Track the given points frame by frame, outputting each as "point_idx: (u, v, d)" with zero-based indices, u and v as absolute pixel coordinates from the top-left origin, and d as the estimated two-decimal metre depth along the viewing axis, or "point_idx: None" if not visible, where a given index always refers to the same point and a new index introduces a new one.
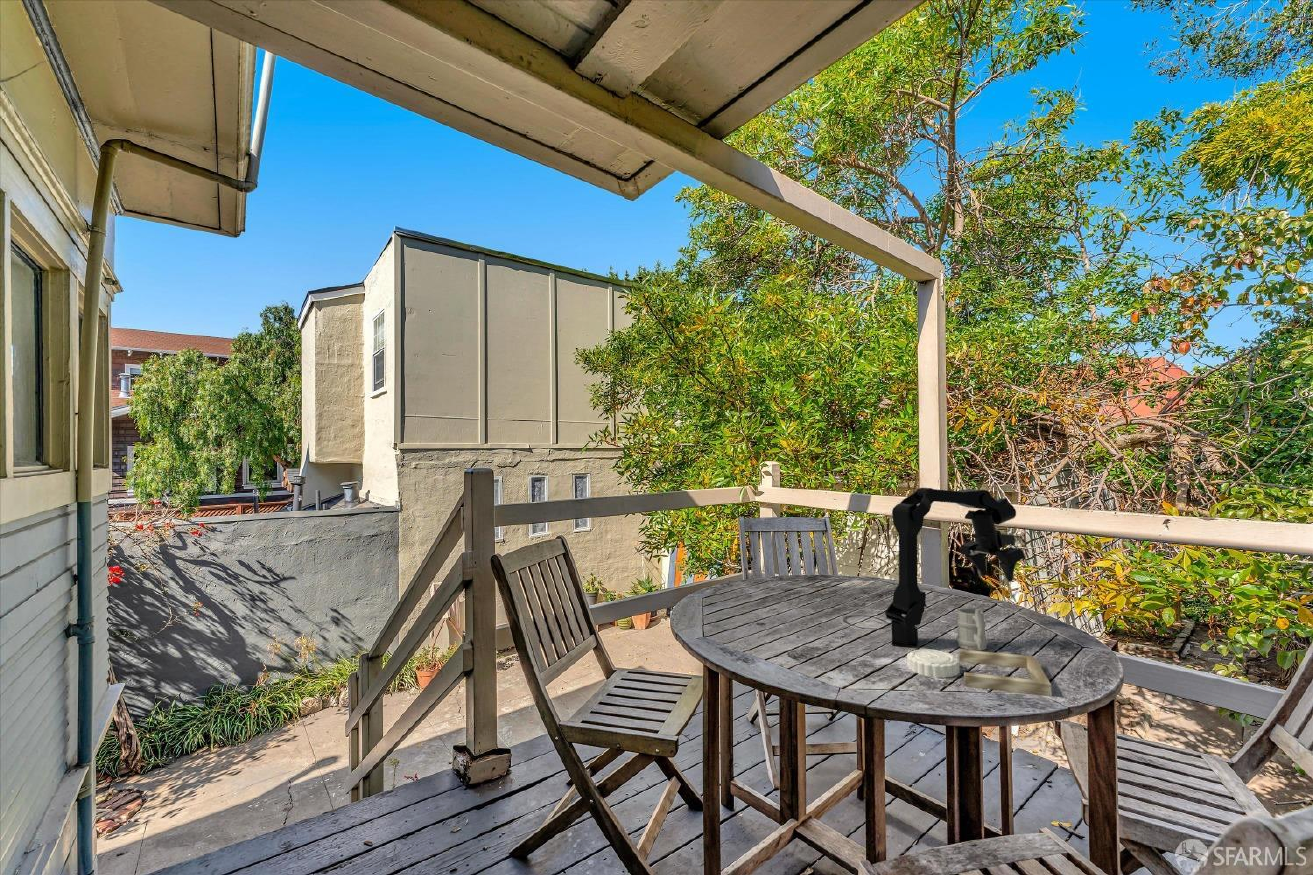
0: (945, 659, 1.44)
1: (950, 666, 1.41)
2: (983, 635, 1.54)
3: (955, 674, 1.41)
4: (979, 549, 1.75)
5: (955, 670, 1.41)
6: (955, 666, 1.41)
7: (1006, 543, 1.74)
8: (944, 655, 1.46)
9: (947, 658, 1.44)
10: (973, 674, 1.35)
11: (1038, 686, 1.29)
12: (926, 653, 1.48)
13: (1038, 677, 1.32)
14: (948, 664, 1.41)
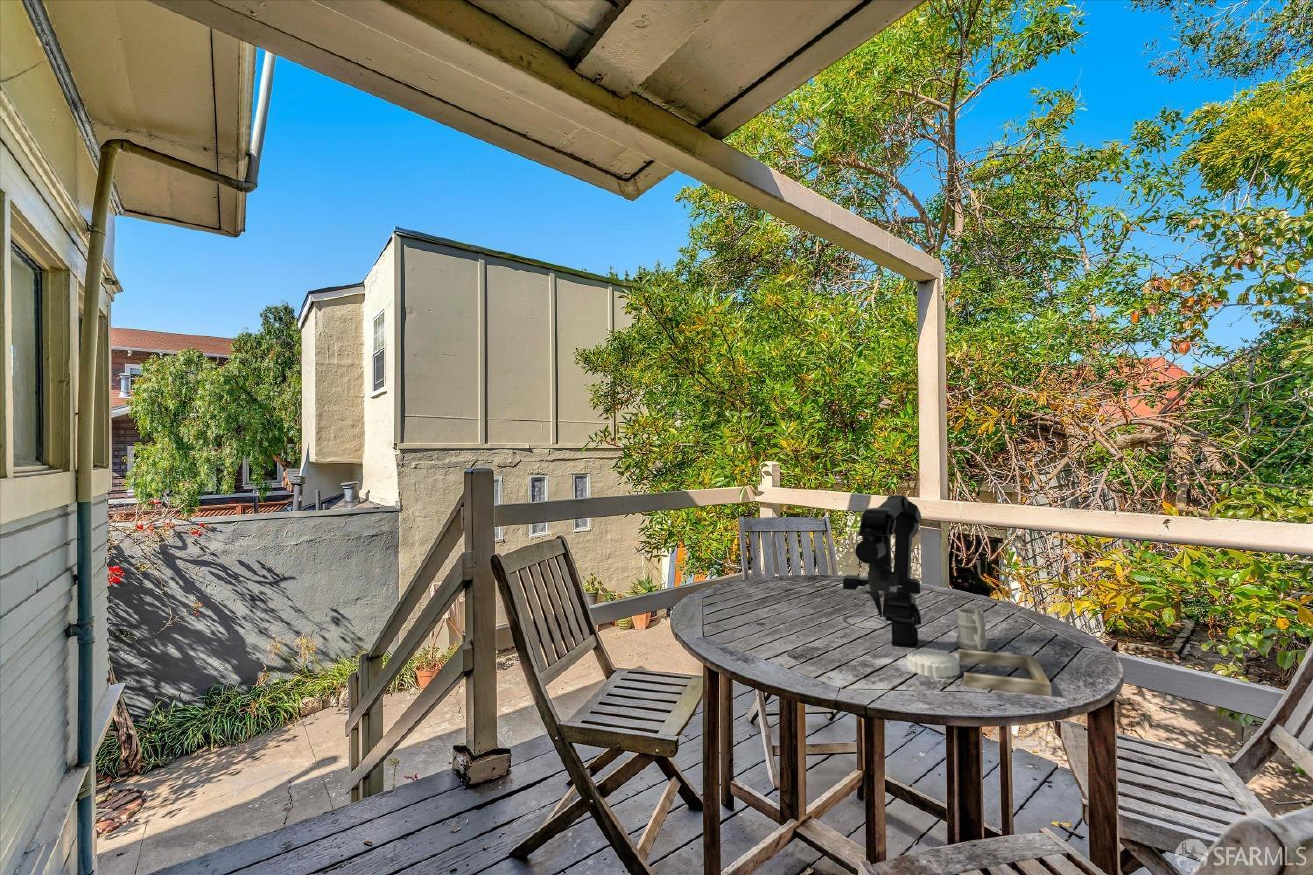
0: (945, 659, 1.44)
1: (950, 666, 1.41)
2: (983, 635, 1.54)
3: (955, 674, 1.41)
4: None
5: (955, 670, 1.41)
6: (955, 666, 1.41)
7: None
8: (944, 655, 1.46)
9: (947, 658, 1.44)
10: (973, 674, 1.35)
11: (1038, 686, 1.29)
12: (926, 653, 1.48)
13: (1038, 677, 1.32)
14: (948, 664, 1.41)
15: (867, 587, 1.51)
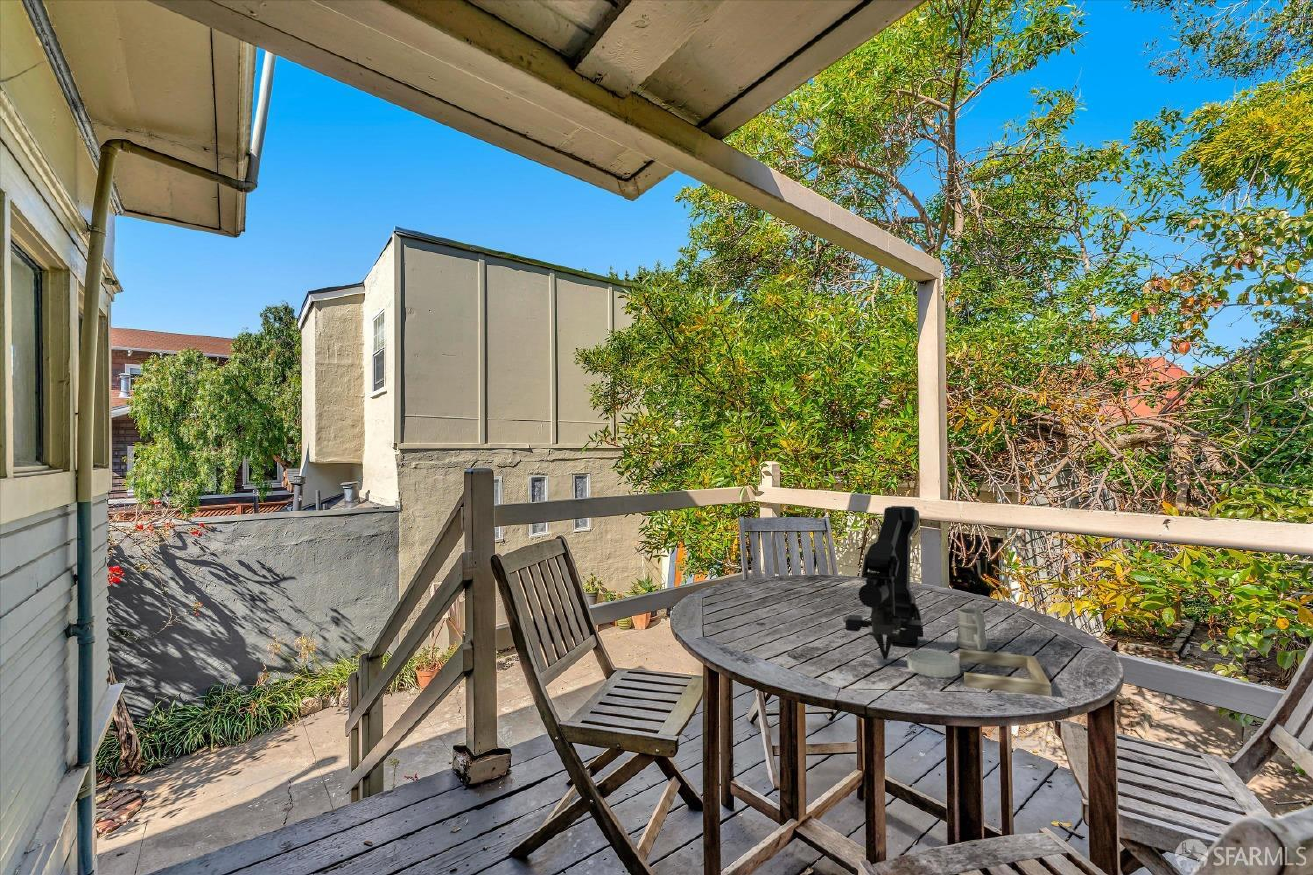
0: (945, 659, 1.44)
1: (950, 666, 1.41)
2: (983, 635, 1.54)
3: (955, 674, 1.41)
4: None
5: (955, 670, 1.41)
6: (955, 666, 1.41)
7: None
8: (944, 655, 1.46)
9: (947, 658, 1.44)
10: (973, 674, 1.35)
11: (1038, 686, 1.29)
12: (926, 653, 1.48)
13: (1038, 677, 1.32)
14: (948, 664, 1.41)
15: (870, 629, 1.51)
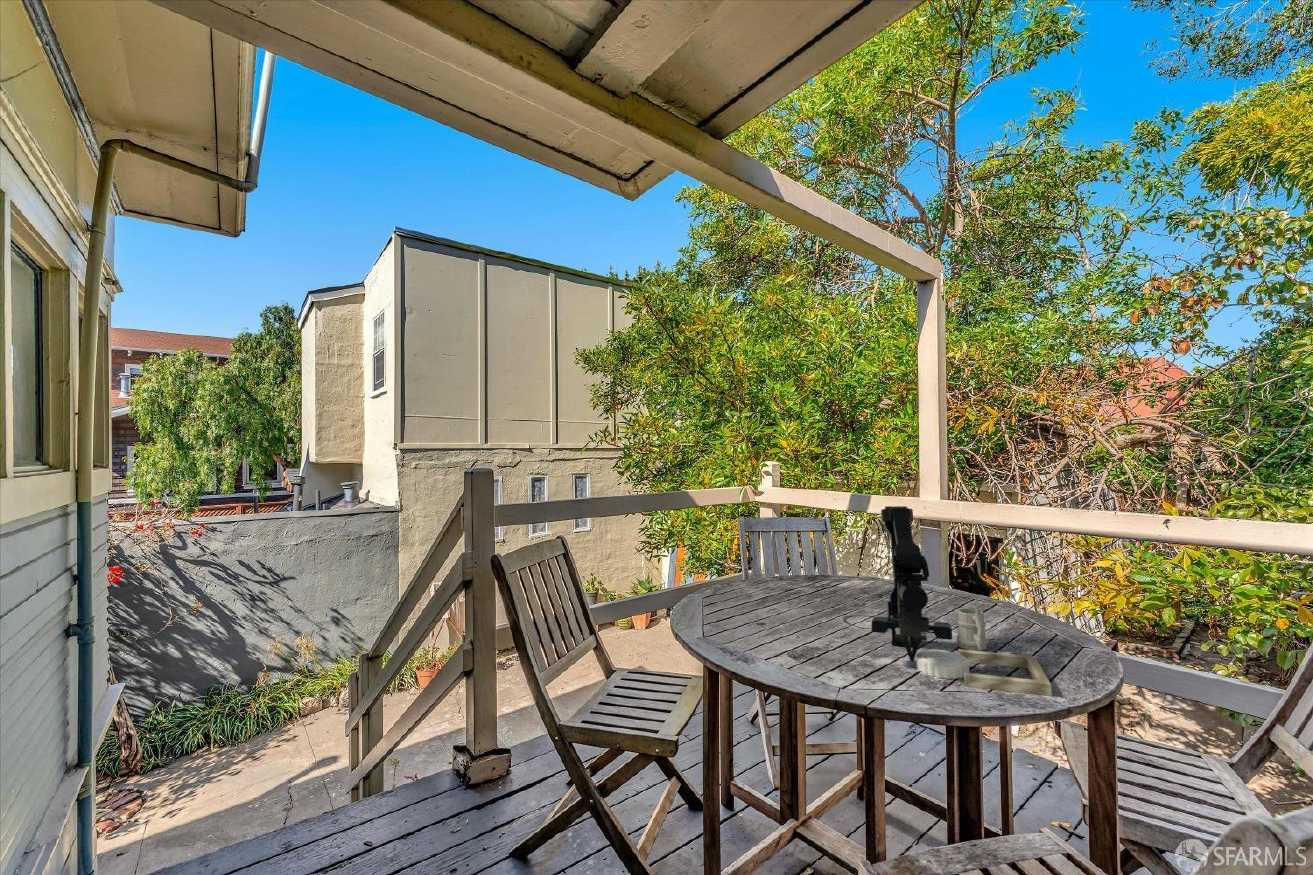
0: (955, 659, 1.43)
1: (960, 666, 1.40)
2: (983, 635, 1.54)
3: None
4: None
5: (965, 670, 1.41)
6: (965, 666, 1.41)
7: None
8: (953, 655, 1.46)
9: (957, 658, 1.44)
10: (973, 674, 1.35)
11: (1038, 686, 1.29)
12: (935, 654, 1.47)
13: (1038, 677, 1.32)
14: (958, 664, 1.41)
15: (897, 631, 1.48)
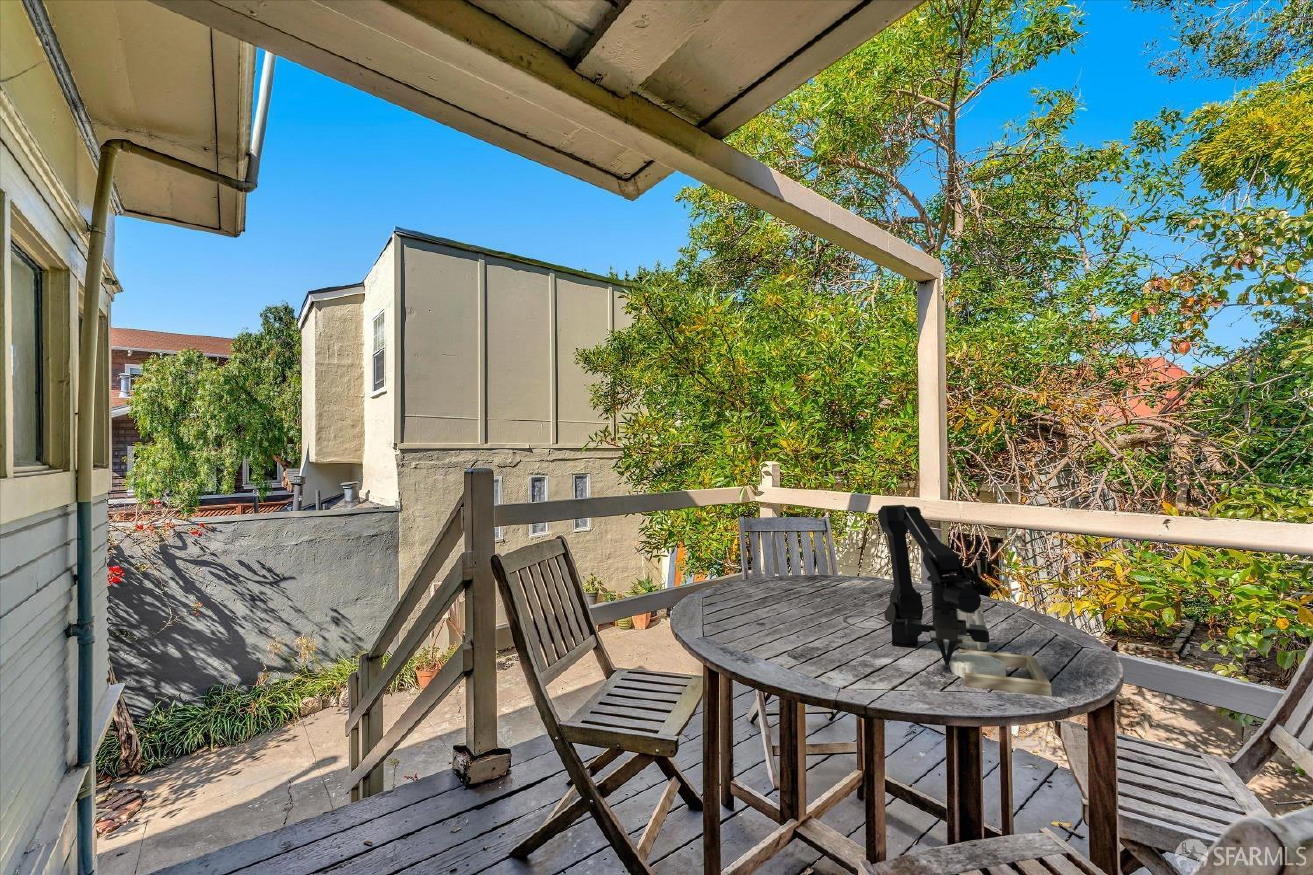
0: (992, 662, 1.40)
1: (1000, 670, 1.37)
2: None
3: None
4: None
5: (1003, 673, 1.38)
6: (1004, 669, 1.38)
7: None
8: (988, 658, 1.43)
9: (993, 661, 1.41)
10: (973, 674, 1.35)
11: (1038, 686, 1.29)
12: (969, 657, 1.44)
13: (1038, 677, 1.32)
14: (997, 668, 1.38)
15: (932, 633, 1.45)
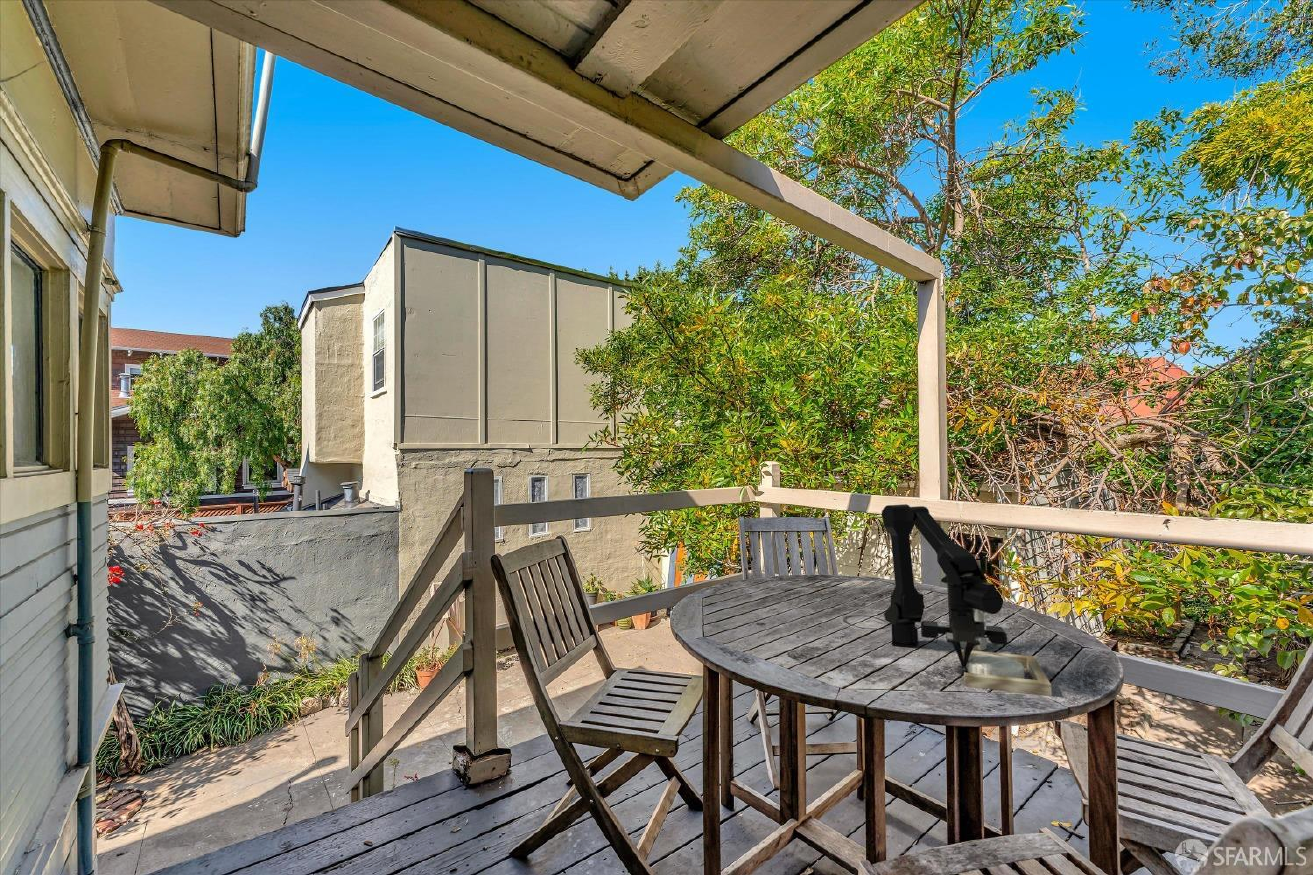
0: (1010, 664, 1.39)
1: (1019, 671, 1.36)
2: None
3: None
4: None
5: (1022, 675, 1.37)
6: (1022, 671, 1.37)
7: None
8: (1005, 660, 1.42)
9: (1011, 663, 1.40)
10: (973, 674, 1.35)
11: (1038, 686, 1.29)
12: (987, 659, 1.43)
13: (1038, 677, 1.32)
14: (1016, 669, 1.37)
15: (948, 635, 1.43)
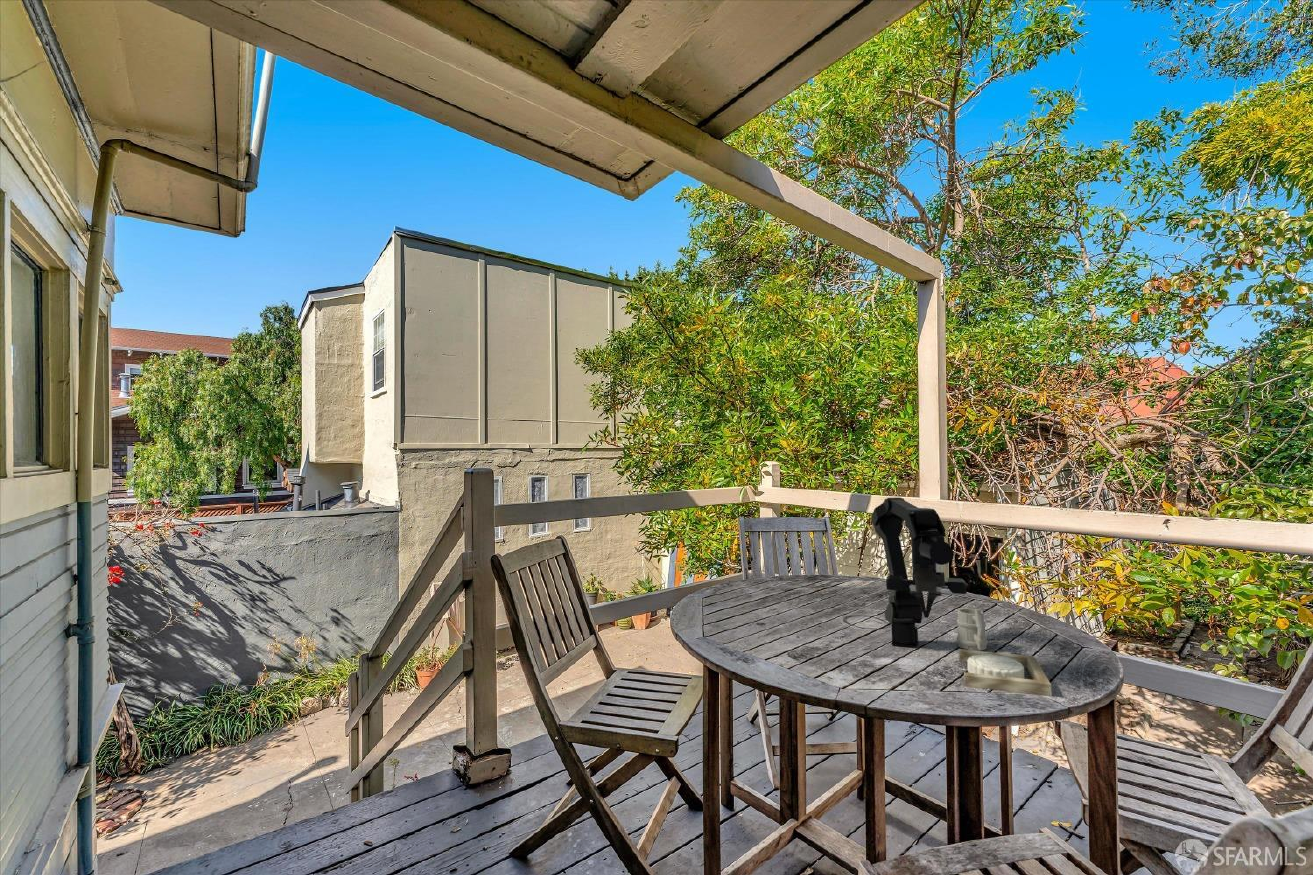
0: (1010, 664, 1.39)
1: (1019, 671, 1.36)
2: (983, 635, 1.54)
3: None
4: None
5: (1022, 675, 1.37)
6: (1022, 671, 1.37)
7: None
8: (1006, 660, 1.42)
9: (1011, 663, 1.40)
10: (973, 674, 1.35)
11: (1038, 686, 1.29)
12: (987, 658, 1.43)
13: (1038, 677, 1.32)
14: (1016, 669, 1.37)
15: (912, 587, 1.50)
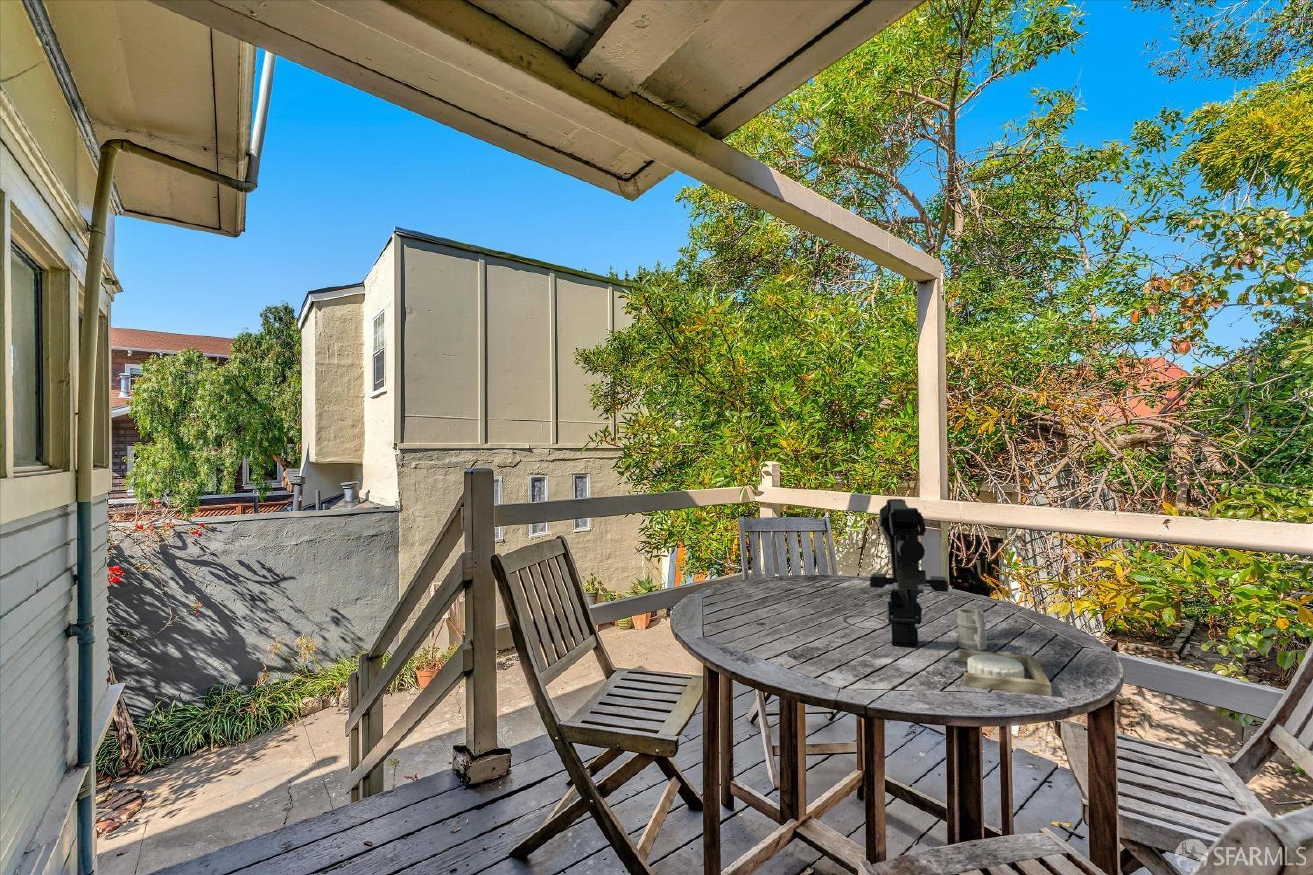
0: (1010, 664, 1.39)
1: (1019, 671, 1.36)
2: (983, 635, 1.54)
3: None
4: None
5: (1022, 675, 1.37)
6: (1022, 671, 1.37)
7: None
8: (1006, 660, 1.42)
9: (1011, 663, 1.40)
10: (973, 674, 1.35)
11: (1038, 686, 1.29)
12: (987, 658, 1.43)
13: (1038, 677, 1.32)
14: (1016, 669, 1.37)
15: (895, 585, 1.52)
